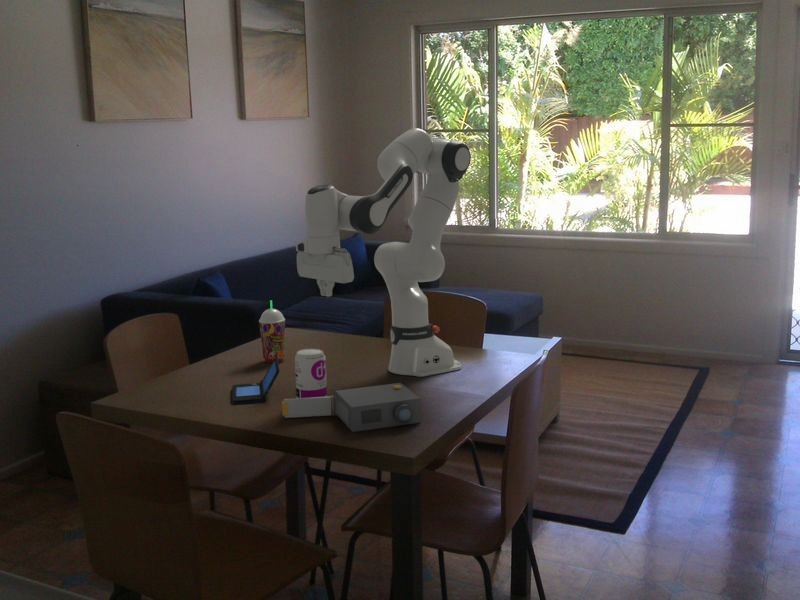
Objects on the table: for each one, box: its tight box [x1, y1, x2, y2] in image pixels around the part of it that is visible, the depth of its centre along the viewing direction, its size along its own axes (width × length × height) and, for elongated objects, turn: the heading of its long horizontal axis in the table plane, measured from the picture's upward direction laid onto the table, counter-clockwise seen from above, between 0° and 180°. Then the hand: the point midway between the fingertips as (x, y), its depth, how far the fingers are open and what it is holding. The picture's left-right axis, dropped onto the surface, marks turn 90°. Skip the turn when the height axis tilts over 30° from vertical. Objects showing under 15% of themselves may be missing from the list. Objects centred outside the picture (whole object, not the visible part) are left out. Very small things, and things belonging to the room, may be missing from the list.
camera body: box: [334, 382, 422, 433], centre depth 229 cm, size 18×17×7 cm
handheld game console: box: [231, 357, 280, 405], centre depth 253 cm, size 16×13×9 cm
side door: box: [281, 395, 336, 419], centre depth 233 cm, size 1×13×5 cm, turn 96°
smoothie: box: [258, 300, 286, 364], centre depth 288 cm, size 8×8×20 cm
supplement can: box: [294, 348, 328, 398], centre depth 241 cm, size 8×8×15 cm
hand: (326, 295), depth 246 cm, fingers closed
